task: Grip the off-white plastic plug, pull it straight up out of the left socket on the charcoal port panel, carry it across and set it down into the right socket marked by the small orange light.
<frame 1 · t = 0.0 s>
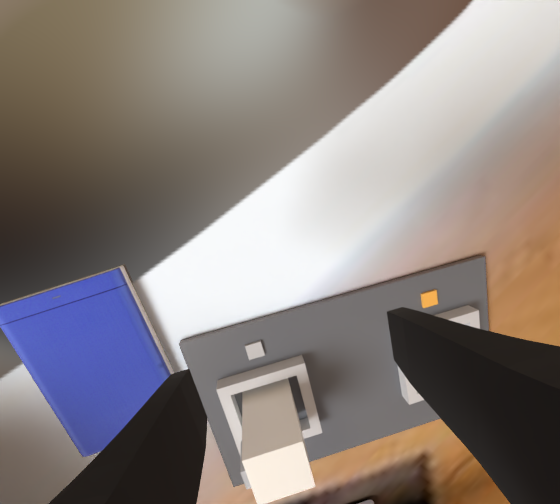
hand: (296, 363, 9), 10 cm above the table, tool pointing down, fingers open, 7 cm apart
plug: (270, 402, 21), resting on port panel
port panel: (352, 372, 22), on the table
hard drive: (109, 355, 20), on the table
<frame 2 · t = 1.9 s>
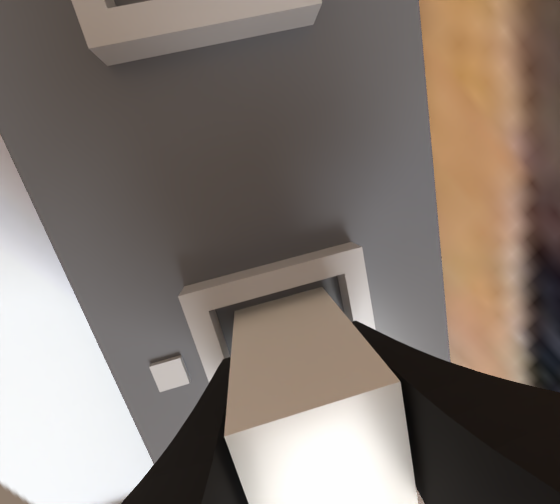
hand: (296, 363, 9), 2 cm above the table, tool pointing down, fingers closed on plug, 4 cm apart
plug: (288, 337, 11), resting on port panel, touching gripper
port panel: (244, 166, 10), on the table
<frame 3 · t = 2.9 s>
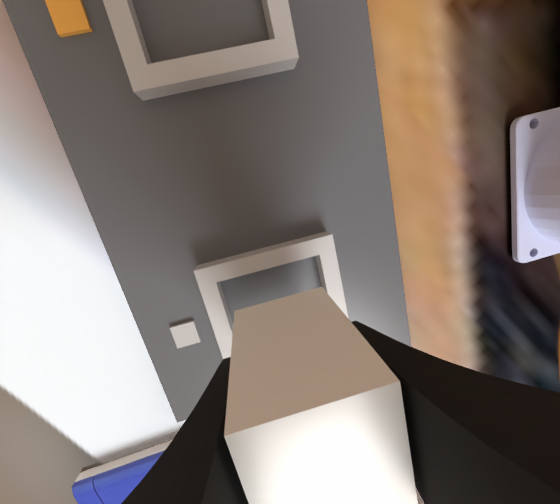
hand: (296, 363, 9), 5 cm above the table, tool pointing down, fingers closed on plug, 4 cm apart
plug: (288, 337, 11), point 4 cm above the table, touching gripper
port panel: (243, 173, 13), on the table
hard drive: (210, 472, 17), on the table
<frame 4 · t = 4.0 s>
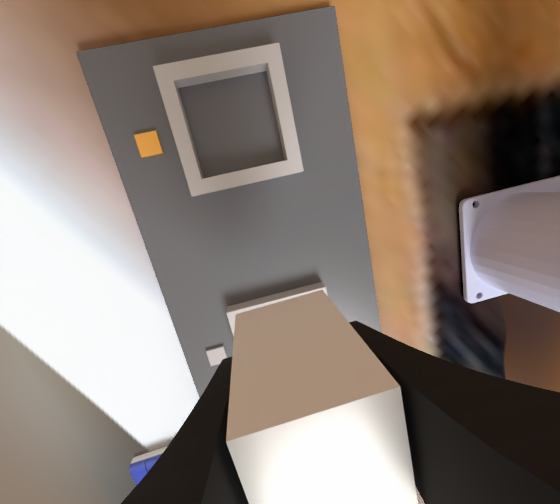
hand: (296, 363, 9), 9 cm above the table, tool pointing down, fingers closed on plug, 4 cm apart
plug: (289, 340, 11), point 7 cm above the table, touching gripper
port panel: (261, 240, 17), on the table
hard drive: (229, 460, 22), on the table
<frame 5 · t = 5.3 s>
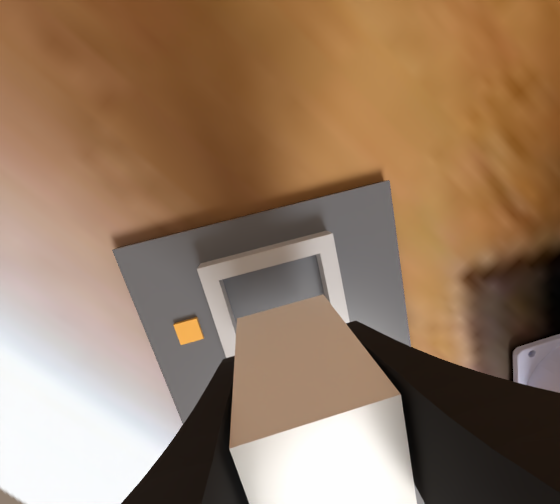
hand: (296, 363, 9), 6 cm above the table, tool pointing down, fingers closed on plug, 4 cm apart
plug: (290, 344, 11), point 4 cm above the table, touching gripper
port panel: (304, 402, 16), on the table
when the fingers open (3 cm above the table, at t = 6.2 s): plug stays where it is, resting on port panel.
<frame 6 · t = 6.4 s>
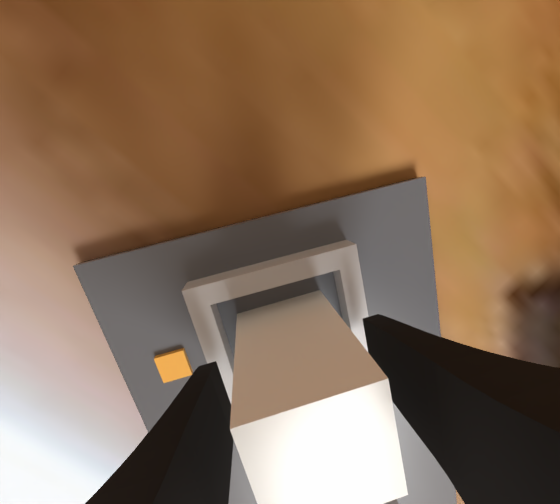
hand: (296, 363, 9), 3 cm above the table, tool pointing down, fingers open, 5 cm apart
plug: (288, 338, 11), resting on port panel
port panel: (316, 444, 14), on the table
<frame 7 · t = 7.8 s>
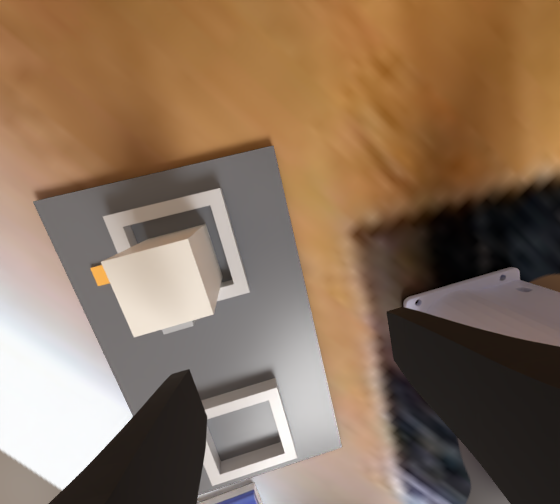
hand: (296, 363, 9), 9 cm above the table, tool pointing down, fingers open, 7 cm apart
plug: (186, 258, 17), resting on port panel
port panel: (217, 343, 19), on the table
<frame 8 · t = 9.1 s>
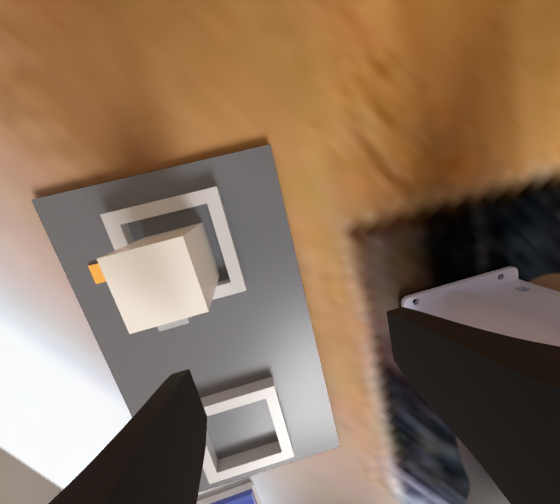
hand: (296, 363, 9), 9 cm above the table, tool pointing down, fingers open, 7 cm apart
plug: (183, 256, 17), resting on port panel
port panel: (215, 342, 19), on the table
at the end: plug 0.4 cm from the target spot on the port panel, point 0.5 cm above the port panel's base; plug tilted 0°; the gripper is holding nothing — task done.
